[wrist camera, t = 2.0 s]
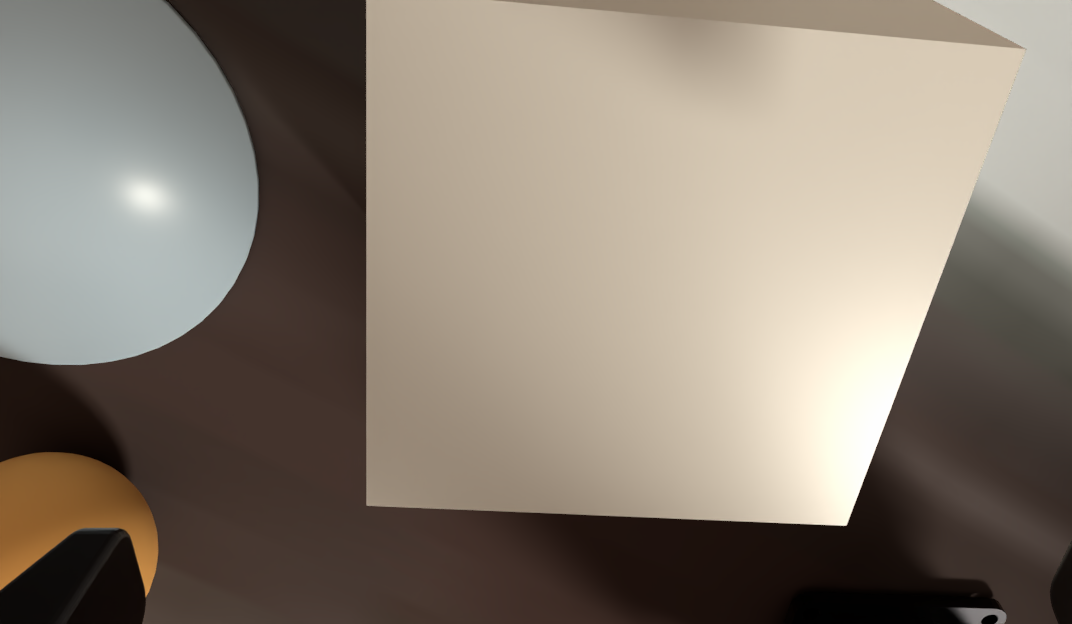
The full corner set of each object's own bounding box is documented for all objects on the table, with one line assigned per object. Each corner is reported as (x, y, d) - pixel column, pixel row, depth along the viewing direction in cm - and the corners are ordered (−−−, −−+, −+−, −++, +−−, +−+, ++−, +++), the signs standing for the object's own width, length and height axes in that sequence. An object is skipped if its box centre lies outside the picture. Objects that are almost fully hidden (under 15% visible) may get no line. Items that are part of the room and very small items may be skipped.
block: (817, -61, 17) (1026, 50, 10) (734, 285, 21) (846, 525, 14) (417, -101, 16) (366, -12, 10) (408, 264, 20) (366, 505, 14)
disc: (242, -72, 17) (239, -69, 16) (272, 371, 22) (270, 376, 21) (-340, -127, 16) (-350, -125, 16) (-166, 348, 21) (-172, 352, 21)
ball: (172, 415, 22) (97, 568, 18) (192, 558, 25) (130, 721, 21) (-39, 404, 22) (-167, 559, 18) (4, 551, 24) (-99, 717, 20)
